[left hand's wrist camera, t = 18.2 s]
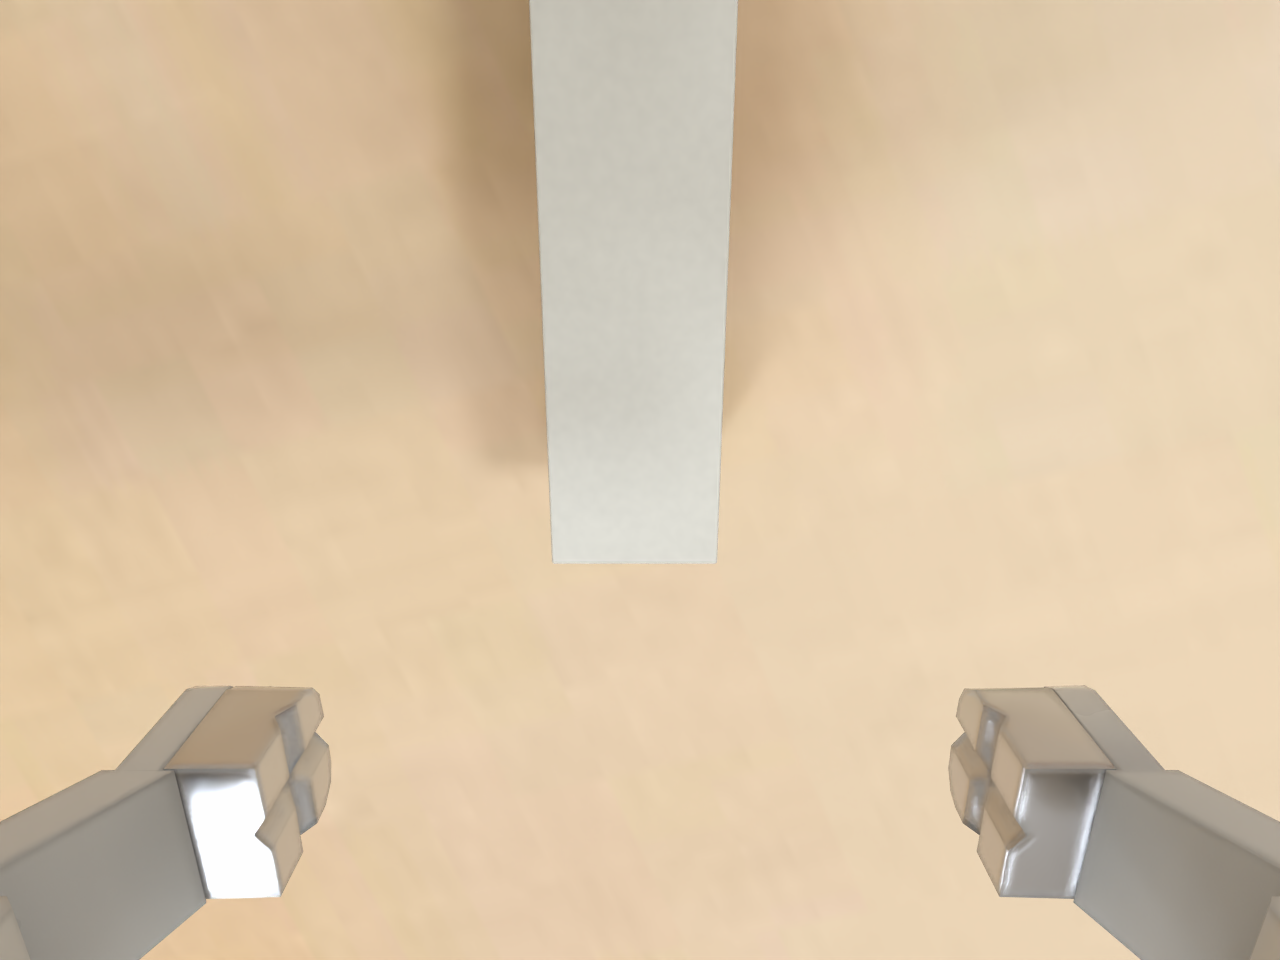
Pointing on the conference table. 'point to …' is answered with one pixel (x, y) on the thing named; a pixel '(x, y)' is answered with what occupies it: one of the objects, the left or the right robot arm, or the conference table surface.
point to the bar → (634, 270)
